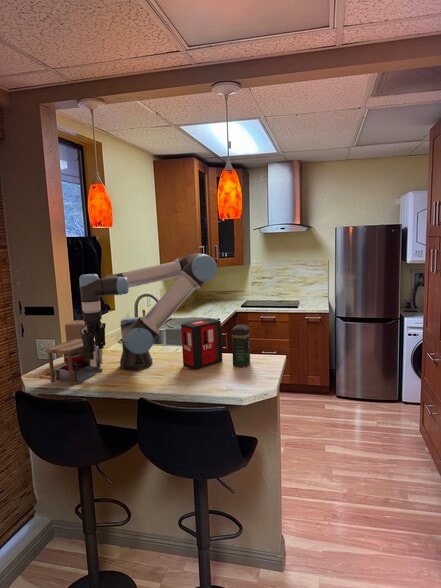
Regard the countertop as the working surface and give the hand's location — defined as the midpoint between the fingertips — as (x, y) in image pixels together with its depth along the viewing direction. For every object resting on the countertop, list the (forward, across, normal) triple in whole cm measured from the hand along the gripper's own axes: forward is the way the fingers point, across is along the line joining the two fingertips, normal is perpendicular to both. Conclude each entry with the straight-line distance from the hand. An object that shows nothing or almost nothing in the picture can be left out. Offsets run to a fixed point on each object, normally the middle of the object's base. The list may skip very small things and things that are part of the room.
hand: (96, 364), depth 171 cm
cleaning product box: (+7, -33, +34) cm, 48 cm away
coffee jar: (+7, -37, +52) cm, 65 cm away
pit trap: (+7, 0, -24) cm, 25 cm away
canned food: (+7, 0, -13) cm, 15 cm away
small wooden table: (+7, 0, -13) cm, 14 cm away
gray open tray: (+7, 0, -8) cm, 10 cm away
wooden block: (+7, -20, -27) cm, 35 cm away
